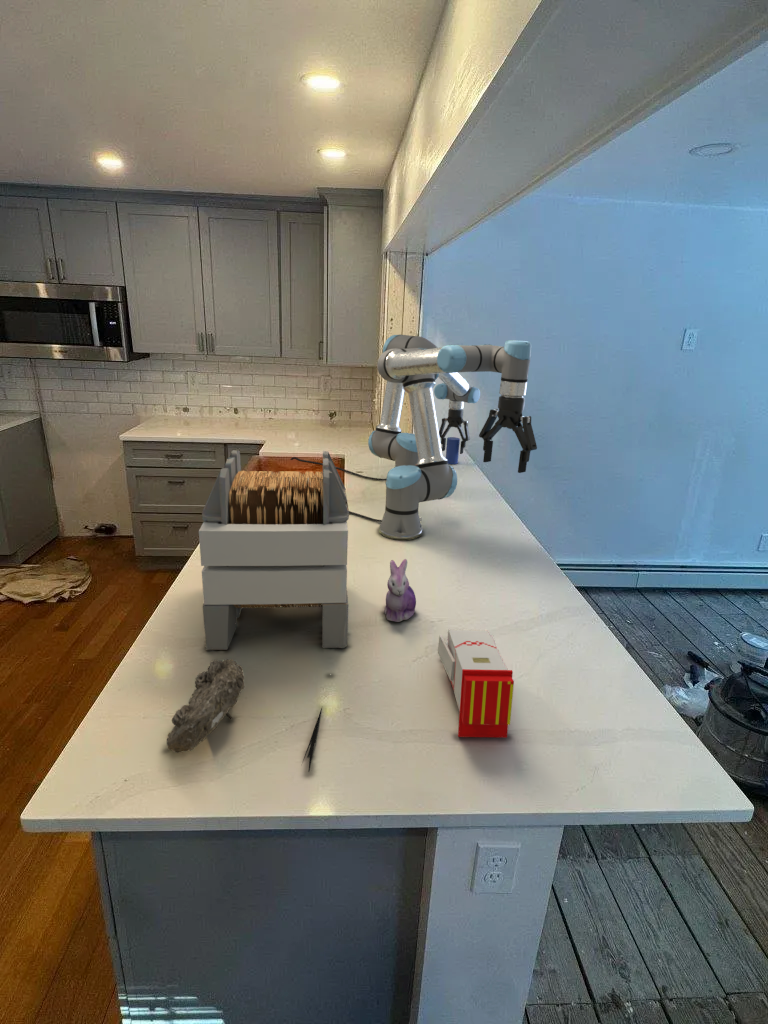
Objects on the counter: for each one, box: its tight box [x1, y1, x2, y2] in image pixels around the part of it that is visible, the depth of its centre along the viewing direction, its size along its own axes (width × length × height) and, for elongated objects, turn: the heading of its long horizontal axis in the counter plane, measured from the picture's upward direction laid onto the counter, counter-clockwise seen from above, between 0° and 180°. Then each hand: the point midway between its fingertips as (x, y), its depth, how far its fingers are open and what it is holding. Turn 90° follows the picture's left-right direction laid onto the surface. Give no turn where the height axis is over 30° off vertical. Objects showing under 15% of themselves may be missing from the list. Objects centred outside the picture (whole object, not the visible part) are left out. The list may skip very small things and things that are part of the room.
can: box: [445, 436, 461, 465], centre depth 294 cm, size 6×6×13 cm
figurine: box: [384, 558, 417, 623], centre depth 145 cm, size 9×10×15 cm
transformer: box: [198, 449, 350, 651], centre depth 138 cm, size 34×33×41 cm
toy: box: [437, 628, 515, 738], centre depth 117 cm, size 12×13×30 cm
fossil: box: [166, 658, 245, 754], centre depth 106 cm, size 22×10×15 cm
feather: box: [301, 673, 332, 771], centre depth 108 cm, size 2×28×2 cm
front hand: (503, 466), depth 172 cm, fingers open, 13 cm apart
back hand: (452, 452), depth 295 cm, fingers open, 9 cm apart
